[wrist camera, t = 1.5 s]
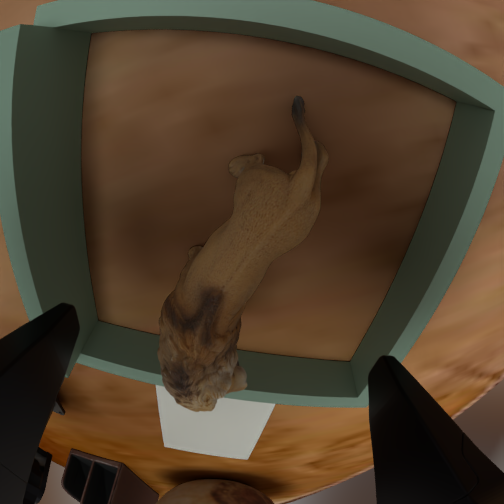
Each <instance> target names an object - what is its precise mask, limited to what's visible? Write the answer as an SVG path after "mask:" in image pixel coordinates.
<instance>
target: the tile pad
mask: <svg viewBox="0 0 504 504" xmlns="http://www.w3.org/2000/svg"><path fill="white" fill-rule="evenodd" d="M156 392H157V400H158V408H159V415H160V422H161V428H162V435H163V441H164V447H169V448H174V449H179V450H184V451H189V452H195V453H201V454H207V455H214V456H221V457H229V458H237V459H247V460H248V458H249V456H250V454H251V452H252V450H253V448H254V446H255V444H256V443H257V441H258V439H259V437H260V435H261V433H262V431H263V429H264V427H265V425H266V423H267V421H268V419H269V417H270V415H271V412H272V410H273V408H274V406H275V404H272V403H262V402H253V401H244V400H237V399H230V398H219V399H217V403H216V404H215V408H214V409H213V410H212V411H205V412H204V411H199V412H195V411H191V410H189V409H187V408H184V407H183V406H181V405H179V404H177V403H176V401H175V399H174V397H173V396H171V395H170V394H169V392H168V391H167V390H166V389H165V387H163V386H159V385H156Z"/></svg>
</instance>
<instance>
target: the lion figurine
mask: <svg viewBox="0 0 504 504" xmlns="http://www.w3.org/2000/svg"><path fill="white" fill-rule="evenodd" d="M304 113H305V109H304V101H303V99H302V97H300V96H295V98H294V103H293V106H292V117H293V119H294V122H295V125H296V128H297V130H298V133H299V135H300V139H301V145H302V159H301V164H300V167H299V169H298V170H296V171H292V172H291V173H289V174H286V173H285V172H283V171H282V170H281V169H278V168H276V167H273V166H269V165H264V160H265V158H264V156H263V155H262V154H255V155H250V156H248V155H242V156H238V157H236V158H234V159H233V160H232V161H231V162H230V163H229V173H231V174H232V175H233V176H234V177H236V178H238V180H237V183H236V187H235V194H234V199H233V202H234V210H233V214H232V216H231V218H230V219H228V220H227V221H226V222H225V223H224V224H223V225H221V226H220V227H219V228H218V229H217V230H215V231H214V233H213V234H212V235H211V236H210V237H209V239H208V240H207V242H206V244H205V245H204V247H202V246H195V247H192V248H191V249H190V250H189V252H188V255H189V258H190V260H189V261H188V262H187V264H186V266H185V268H184V269H183V270H182V272H181V274H180V280H179V281H178V283H177V285H176V288H175V290H174V291H172V293H171V294H170V295H169V296H168V297H167V299H166V300H165V302H164V304H163V307H162V310H161V317H160V318H159V325H160V338H159V348H158V351H157V354H158V360H159V361H160V366H161V375H162V382H163V384H164V387H165V389H166V390H167V391H168V392H169V394H170V395H171V396H173V397H174V399H175V401H176V403H177V404H179V405H181V406H183V407H184V408H187V409H189V410H191V411H195V412H199V411H204V412H205V411H212V410H213V409H214V408H215V404H216V403H217V399H219V398H223V397H224V396H225V395H226V394H228V393H231V392H237V391H241V390H244V389H245V388H246V387H247V382H246V378H247V375H246V372H245V370H244V369H243V367H241V366H239V361H238V353H237V345H236V344H237V341H238V338H239V333H240V328H241V315H242V313H243V310H244V308H245V303H246V302H247V300H248V299H249V298H250V297H251V296H252V295H253V293H254V292H255V290H256V289H257V287H258V286H259V284H260V282H261V281H262V279H263V277H264V275H265V273H266V271H267V269H268V267H269V265H270V264H271V263H272V261H274V260H275V259H276V258H278V257H279V256H281V255H283V254H284V253H286V252H288V251H289V250H291V249H292V248H294V247H295V246H297V245H298V244H300V243H301V242H302V241H303V240H304V239H305V238H306V237H307V235H308V234H309V232H310V230H311V228H312V226H313V224H314V222H315V221H316V219H317V216H318V214H319V211H320V207H321V194H320V188H321V176H322V173H323V171H324V168H325V167H326V165H327V163H328V154H327V152H326V149H325V147H324V145H323V144H322V143H320V142H319V141H314V139H313V137H312V135H311V133H310V131H309V129H308V126H307V124H306V121H305V118H304Z"/></svg>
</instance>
